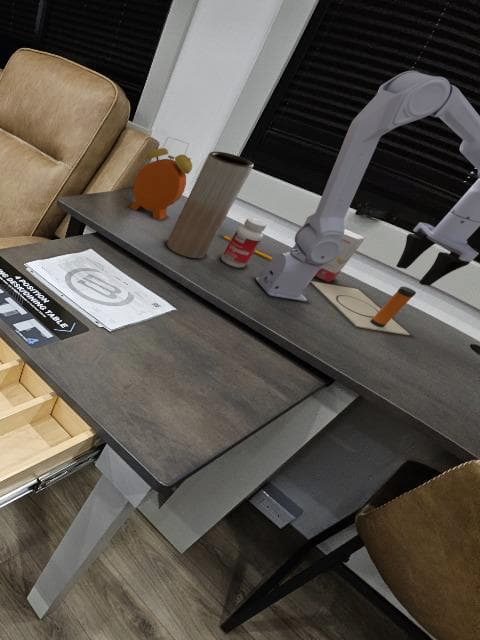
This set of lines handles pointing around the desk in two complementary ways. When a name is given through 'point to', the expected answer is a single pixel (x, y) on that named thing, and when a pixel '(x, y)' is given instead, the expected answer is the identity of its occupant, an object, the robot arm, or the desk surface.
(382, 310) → the marker
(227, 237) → the pencil
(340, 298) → the paper
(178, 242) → the planter
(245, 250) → the pill bottle
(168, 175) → the alarm clock
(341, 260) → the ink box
